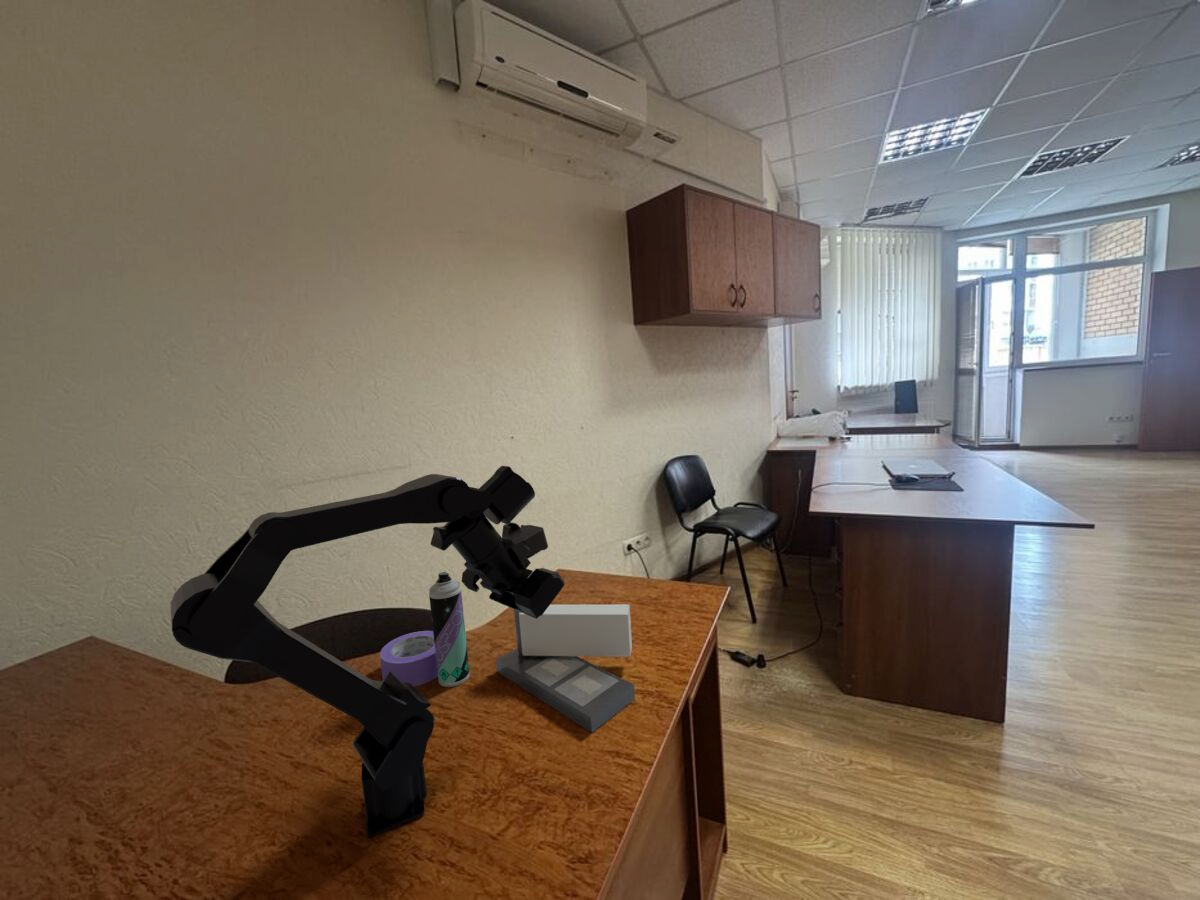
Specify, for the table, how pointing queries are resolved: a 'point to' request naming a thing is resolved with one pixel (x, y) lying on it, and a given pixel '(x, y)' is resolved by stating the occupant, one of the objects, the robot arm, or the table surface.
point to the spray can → (449, 631)
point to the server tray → (569, 686)
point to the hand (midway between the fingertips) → (537, 615)
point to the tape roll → (410, 658)
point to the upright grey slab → (576, 631)
